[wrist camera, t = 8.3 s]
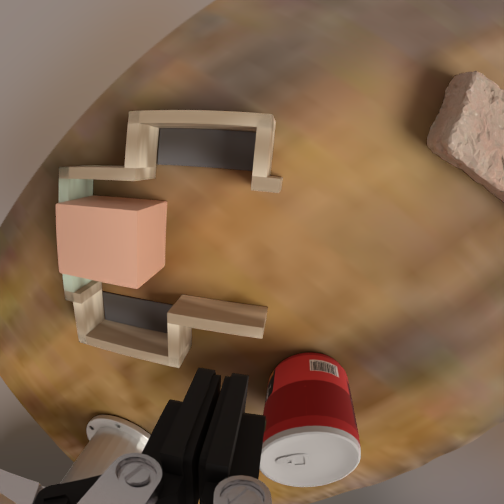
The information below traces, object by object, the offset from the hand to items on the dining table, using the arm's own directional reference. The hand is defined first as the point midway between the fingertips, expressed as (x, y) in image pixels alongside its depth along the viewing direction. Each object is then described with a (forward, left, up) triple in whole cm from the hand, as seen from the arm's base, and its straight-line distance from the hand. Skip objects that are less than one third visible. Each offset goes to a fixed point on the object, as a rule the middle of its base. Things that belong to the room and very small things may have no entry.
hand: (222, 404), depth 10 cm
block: (+1, +13, -19) cm, 23 cm away
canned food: (-12, -6, -19) cm, 23 cm away
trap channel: (+1, +9, -19) cm, 21 cm away
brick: (+12, -21, -19) cm, 31 cm away
